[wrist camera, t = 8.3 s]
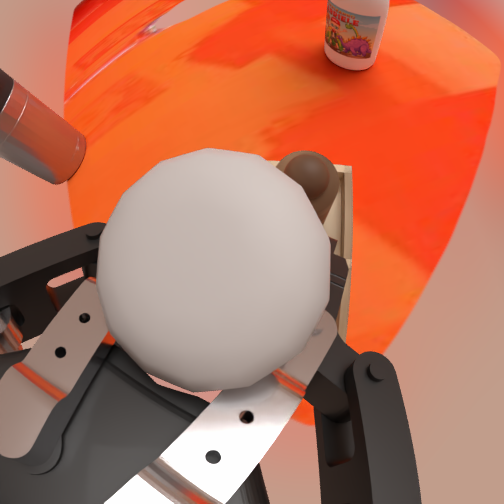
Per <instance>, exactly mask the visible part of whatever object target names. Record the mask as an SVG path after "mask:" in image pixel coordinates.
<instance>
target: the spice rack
mask: <svg viewBox="0 0 504 504" xmlns="http://www.w3.org/2000/svg"><path fill="white" fill-rule="evenodd" d="M268 162H269V163H270V164H272V165H273V166H275V167H276V166H277V164H278V163H279V162H280V161H268ZM334 167H335V168H336V170H337V173H338V176H339V190H338V193H337V196H336V198H335V200H334V202H333V205H332V207H331V209H330V211H329V213H328V215H327V218H326V220H325V222H324V224H323V227H324V229H325V231H326V233H327V235H328V236H329V237H331V238H333V239H335V240H338V242H337V245H336V248H335V251H334V254H336V255H338V256H340V257H343V258H345V259H346V262H347V265H348V268H349V271H348V275H347V279H346V283H345V287H344V292H343V295H342V299H341V303H340V307H339V311H338V314H337V318H336V325H337V331H338V334H339V336H340V337H341V339H342V340H343V341H344V342H345V343H346V334H347V324H348V313H349V300H350V286H351V267H352V237H353V191H352V166H345V165H334Z"/></svg>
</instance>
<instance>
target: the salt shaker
mask: <svg viewBox="0 0 504 504" xmlns="http://www.w3.org/2000/svg"><path fill="white" fill-rule="evenodd" d="M330 254H331V244H330V240H329V237H328V235H327V233H326V231H325V229H324V227H323V225H322V223H321V222H320V220H319V218H318V216H317V214H316V212H315V210H314V208H313V206H312V204H311V203H310V201H309V199H308V197H307V195H306V193H305V191H304V190H303V188H302V186H300V185H299V184H298V183H296V182H295V181H294V180H292V179H291V178H290V177H288V176H287V175H286V174H284V173H283V172H282V171H280V170H279V169H277V168H276V167H275V166H273V165H272V164H270V163H269V162H268V161H266V160H265V159H263V158H262V157H261V156H259V155H255V154H249V153H242V152H235V151H228V150H221V149H213V148H206V149H202V150H198V151H195V152H191V153H187V154H184V155H180V156H177V157H174V158H170V159H167V160H164V161H161V162H159V163H158V164H157V165H156V166H154V167H153V168H152V169H151V170H150V171H148V172H147V173H146V174H145V175H144V176H142V177H141V178H140V179H139V180H138V181H137V182H135V183H134V184H133V185H132V186H131V187H130V188H129V189H128V190H126V191H125V192H124V193H123V195H122V196H121V198H120V200H119V202H118V203H117V205H116V207H115V209H114V211H113V213H112V215H111V216H110V218H109V220H108V222H107V224H106V226H105V228H104V230H103V232H102V234H101V236H100V241H99V251H98V261H97V274H96V289H97V292H98V296H99V300H100V303H101V306H102V310H103V313H104V316H105V320H106V323H107V326H108V329H109V332H110V334H111V335H112V337H113V338H114V339H115V340H116V341H117V342H118V344H119V345H120V346H121V347H122V348H123V349H124V350H125V351H126V353H127V354H128V355H129V356H130V357H131V358H132V359H133V360H134V361H135V362H136V363H137V365H138V366H139V367H140V368H141V369H142V370H143V371H144V372H146V373H148V374H150V375H153V376H155V377H157V378H160V379H162V380H164V381H167V382H169V383H171V384H173V385H176V386H178V387H181V388H183V389H186V390H189V391H191V392H205V391H216V390H225V389H234V388H242V387H249V386H251V385H252V384H254V383H256V382H257V381H259V380H260V379H262V378H264V377H265V376H267V375H268V374H270V373H271V372H273V371H274V370H276V369H277V368H279V367H280V366H282V365H283V364H285V363H286V362H288V361H289V360H291V359H292V358H294V357H295V356H297V355H298V354H300V353H301V352H302V351H303V350H304V349H305V347H306V345H307V343H308V341H309V339H310V337H311V336H312V334H313V332H314V330H315V328H316V326H317V324H318V322H319V320H320V318H321V316H322V314H323V312H324V310H325V308H326V306H327V304H328V302H329V296H330Z"/></svg>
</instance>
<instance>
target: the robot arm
mask: <svg viewBox="0 0 504 504" xmlns="http://www.w3.org/2000/svg"><path fill="white" fill-rule="evenodd" d="M85 149H86V141H85V138H84V136H83V135H82V134H81V133H80V132H79V131H77V130H76V129H75V128H74V127H72V126H71V125H70V124H69V123H68V122H66V121H65V120H64V119H63V118H61V117H60V116H59V115H57V114H56V113H55V112H54V111H52V110H51V109H50V108H49V107H47V106H46V105H45V104H44V103H42V102H41V101H40V100H39V99H37V98H36V97H35V96H34V95H32V94H31V93H30V92H29V91H27V90H26V89H25V88H24V87H22V86H21V85H20V84H19V83H17V82H16V81H15V80H14V79H12V78H11V77H10V76H9V75H7V74H6V73H5V72H4V71H2V70H1V69H0V157H2V158H4V159H5V160H7V161H9V162H11V163H13V164H15V165H17V166H19V167H21V168H22V169H25V170H26V171H28V172H30V173H32V174H34V175H36V176H38V177H40V178H42V179H44V180H46V181H48V182H50V183H52V184H61V183H63V182H65V181H66V180H68V179H69V178H70V177H71V176H72V175H73V174H74V173H75V172H76V170H77V169H78V167H79V166H80V164H81V162H82V160H83V157H84V154H85ZM105 226H106V224H105V223H100V222H96V223H90V224H87V225H84V226H81V227H78V228H75V229H73V230H70V231H67V232H64V233H61V234H58V235H56V236H53V237H50V238H48V239H45V240H42V241H40V242H37V243H34V244H32V245H29V246H27V247H24V248H22V249H19V250H17V251H14V252H12V253H9V254H7V255H5V256H2V257H0V504H270V502H269V499H268V495H267V491H266V487H265V484H264V480H263V476H262V472H261V468H260V464H259V461H260V460H261V458H262V457H263V455H264V454H265V453H266V452H267V450H268V449H269V447H270V446H271V445H272V443H273V442H274V440H275V439H276V438H277V436H278V435H279V433H280V432H281V430H282V429H283V427H284V426H285V425H286V423H287V422H288V420H289V419H290V417H291V416H292V414H293V413H294V411H295V410H296V408H297V406H298V405H299V403H300V402H301V400H302V398H304V399H305V400H307V401H308V402H309V403H310V404H311V405H313V406H314V417H315V428H316V437H317V448H318V449H317V450H318V462H319V475H320V489H321V504H422V503H421V494H420V487H419V479H418V473H417V467H416V460H415V454H414V449H413V444H412V439H411V434H410V429H409V424H408V420H407V415H406V411H405V407H404V403H403V398H402V394H401V390H400V386H399V383H398V379H397V375H396V372H395V369H394V367H393V365H392V363H391V362H390V361H389V360H388V359H387V358H386V357H385V356H383V355H382V354H379V353H377V352H371V351H369V352H364V353H362V354H360V355H359V354H358V353H357V352H355V351H354V350H353V349H352V348H350V347H349V346H348V345H347V344H346V343H345V342H344V341H343V340H342V339H341V337H340V336H339V334H338V331H337V325H336V318H337V314H338V311H339V307H340V303H341V299H342V295H343V292H344V287H345V283H346V279H347V275H348V271H349V268H348V265H347V262H346V259H345V258H343V257H340V256H338V255H336V254H334V251H335V248H336V245H337V242H338V240H335V239H333V238H331V237H329V236H328V237H329V240H330V244H331V254H330V296H329V302H328V304H327V306H326V308H325V310H324V312H323V314H322V316H321V318H320V320H319V322H318V324H317V326H316V328H315V330H314V332H313V334H312V336H311V337H310V339H309V341H308V343H307V345H306V347H305V349H304V350H303V351H302V352H301V353H300V354H298V355H297V356H295V357H294V358H292V359H291V360H289V361H288V362H286V363H285V364H283V365H282V366H280V367H279V368H277V369H276V370H274V371H273V372H271V373H270V374H268V375H267V376H265V377H264V378H262V379H260V380H259V381H257V382H256V383H254V384H252V385H251V386H249V387H242V388H234V389H225V390H222V391H221V392H220V394H219V395H218V396H217V397H216V398H215V399H214V400H213V401H212V402H211V403H209V402H207V401H205V400H203V399H201V398H200V397H197V396H194V395H190V394H187V393H183V392H180V391H176V390H173V389H170V388H167V387H164V386H161V385H159V384H157V383H156V382H154V381H153V380H152V378H150V376H148V374H147V373H146V372H144V371H143V370H142V369H141V368H140V367H139V366H138V365H137V363H136V362H135V361H134V360H133V359H132V358H131V357H130V356H129V355H128V354H127V353H126V351H125V350H124V349H123V348H122V347H121V346H120V345H119V344H118V342H117V341H116V340H115V339H114V338H113V337H112V335H111V334H110V332H109V329H108V326H107V323H106V320H105V316H104V313H103V310H102V306H101V303H100V300H99V296H98V292H97V289H96V274H97V261H98V251H99V241H100V236H101V234H102V232H103V230H104V228H105ZM81 267H82V271H83V274H84V276H83V277H81V278H78V279H76V280H73V281H71V282H68V283H66V284H63V285H61V286H58V287H56V288H52V287H49V286H48V285H47V283H48V282H49V281H50V280H51V279H53V278H55V277H58V276H60V275H63V274H65V273H68V272H70V271H73V270H75V269H78V268H81ZM41 334H42V335H41ZM39 335H41V336H40V338H39V339H38V340H37V342H36V343H35V344H34V346H33V348H29V349H25V350H23V348H22V345H21V343H23V342H25V341H27V340H29V339H32V338H34V337H36V336H39Z"/></svg>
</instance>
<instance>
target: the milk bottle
mask: <svg viewBox="0 0 504 504" xmlns="http://www.w3.org/2000/svg"><path fill="white" fill-rule="evenodd" d="M388 9H389V0H328V4H327V17H326V31H325V46H324V50H325V53H326V55H327V57H328V58H329V59H330V60H331V61H332V62H333V63H335V64H336V65H338V66H340V67H342V68H345V69H349V70H365V69H367V68H369V67H371V66H372V65H373V64H374V62H375V59H376V56H377V53H378V49H379V46H380V42H381V38H382V35H383V31H384V27H385V23H386V19H387V14H388Z"/></svg>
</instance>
